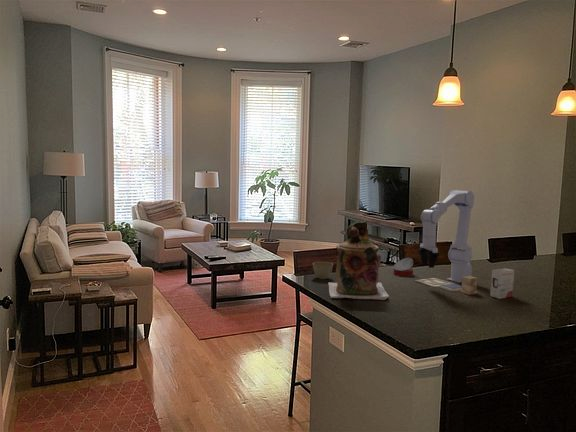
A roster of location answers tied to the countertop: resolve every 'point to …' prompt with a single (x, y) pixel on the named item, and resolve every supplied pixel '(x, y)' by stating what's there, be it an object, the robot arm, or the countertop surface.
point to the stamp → (469, 285)
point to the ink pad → (451, 287)
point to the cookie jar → (357, 267)
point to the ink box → (502, 283)
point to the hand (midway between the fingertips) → (427, 265)
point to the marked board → (433, 282)
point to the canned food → (403, 267)
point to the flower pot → (322, 269)
